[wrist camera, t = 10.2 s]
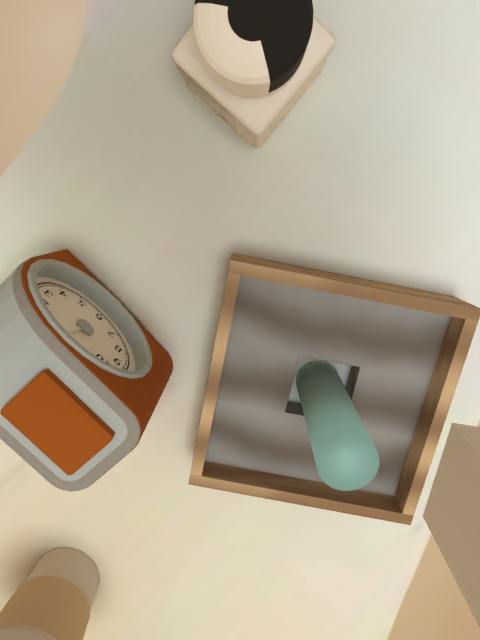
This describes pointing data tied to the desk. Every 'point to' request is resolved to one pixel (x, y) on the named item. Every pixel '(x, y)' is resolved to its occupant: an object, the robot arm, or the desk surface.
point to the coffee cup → (52, 599)
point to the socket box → (363, 387)
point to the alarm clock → (73, 372)
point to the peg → (335, 429)
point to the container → (252, 59)
